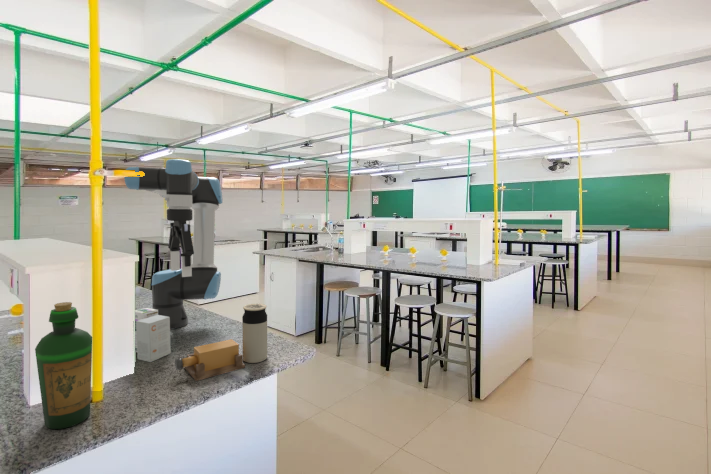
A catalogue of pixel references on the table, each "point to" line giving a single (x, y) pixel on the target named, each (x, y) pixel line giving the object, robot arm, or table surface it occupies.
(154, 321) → the small box
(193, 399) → the table surface
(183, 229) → the robot arm
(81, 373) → the bottle
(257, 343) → the travel mug
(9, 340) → the table surface
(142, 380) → the table surface
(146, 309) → the syrup box
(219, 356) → the amber bottle
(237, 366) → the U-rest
